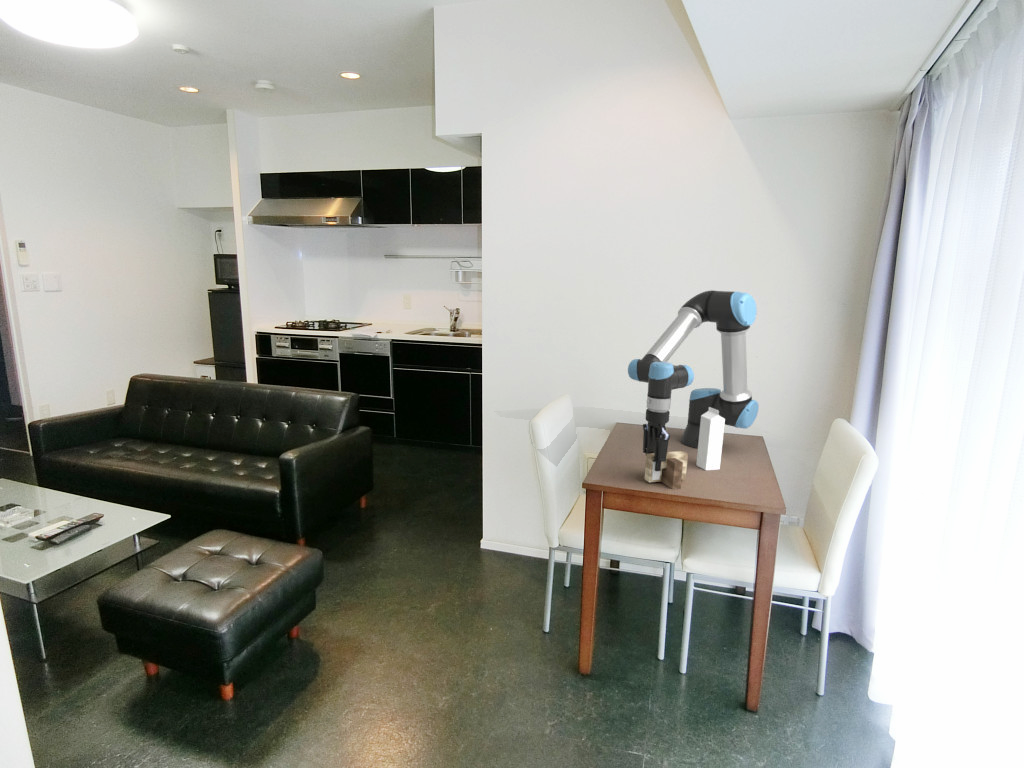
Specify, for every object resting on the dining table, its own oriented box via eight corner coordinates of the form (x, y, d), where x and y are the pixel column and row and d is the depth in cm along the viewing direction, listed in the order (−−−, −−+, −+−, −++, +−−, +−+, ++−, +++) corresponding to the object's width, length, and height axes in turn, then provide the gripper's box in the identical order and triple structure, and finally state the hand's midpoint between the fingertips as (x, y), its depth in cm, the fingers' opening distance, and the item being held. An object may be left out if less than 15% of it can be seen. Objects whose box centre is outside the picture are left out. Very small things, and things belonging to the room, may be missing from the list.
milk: (705, 470, 210) (711, 411, 206) (695, 465, 216) (701, 407, 211) (720, 469, 212) (726, 410, 207) (710, 463, 218) (715, 406, 213)
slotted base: (657, 473, 205) (659, 449, 204) (680, 488, 192) (682, 462, 191) (650, 474, 204) (652, 449, 203) (672, 489, 191) (674, 462, 190)
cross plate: (680, 475, 202) (682, 450, 200) (685, 479, 199) (687, 453, 197) (644, 479, 198) (646, 453, 196) (649, 482, 195) (651, 456, 193)
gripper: (635, 404, 198) (630, 470, 203) (661, 416, 183) (655, 487, 188) (655, 403, 201) (649, 468, 205) (681, 415, 186) (675, 485, 190)
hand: (652, 477), depth 197 cm, fingers closed on cross plate, 3 cm apart
